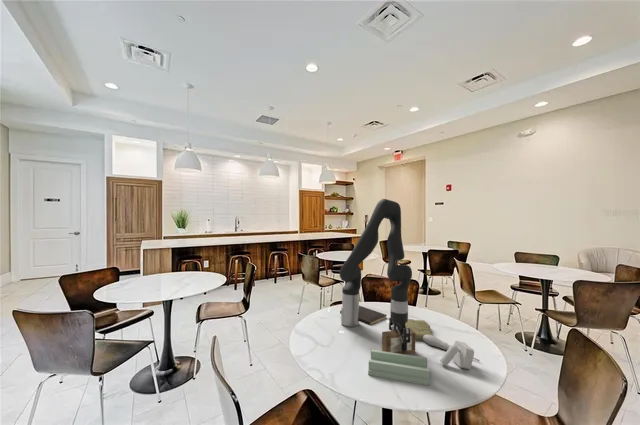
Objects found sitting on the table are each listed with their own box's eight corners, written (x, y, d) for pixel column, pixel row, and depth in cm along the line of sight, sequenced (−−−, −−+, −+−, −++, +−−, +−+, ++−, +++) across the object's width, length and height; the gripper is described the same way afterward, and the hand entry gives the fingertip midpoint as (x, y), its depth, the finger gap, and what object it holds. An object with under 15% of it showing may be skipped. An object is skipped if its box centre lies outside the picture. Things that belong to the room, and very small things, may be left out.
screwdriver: (478, 368, 113) (478, 359, 112) (421, 343, 132) (420, 335, 131) (482, 362, 116) (482, 353, 116) (426, 338, 135) (425, 330, 134)
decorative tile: (398, 340, 135) (398, 333, 135) (391, 323, 155) (391, 317, 154) (437, 343, 133) (437, 335, 133) (426, 325, 153) (426, 319, 153)
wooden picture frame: (386, 357, 119) (386, 336, 119) (381, 351, 123) (382, 331, 123) (415, 353, 122) (415, 333, 122) (410, 348, 126) (410, 328, 126)
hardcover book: (357, 308, 179) (357, 304, 179) (387, 318, 162) (387, 314, 162) (339, 314, 168) (339, 310, 168) (369, 326, 151) (369, 322, 151)
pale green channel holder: (368, 374, 106) (368, 363, 106) (371, 358, 117) (371, 348, 117) (429, 385, 99) (429, 373, 99) (426, 367, 111) (426, 356, 111)
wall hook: (434, 359, 116) (440, 336, 116) (457, 363, 117) (462, 341, 117) (444, 370, 108) (450, 345, 108) (468, 375, 109) (475, 350, 109)
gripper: (415, 314, 116) (415, 353, 117) (398, 303, 130) (398, 337, 130) (399, 316, 115) (399, 355, 115) (384, 305, 129) (383, 339, 129)
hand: (399, 345), depth 123 cm, fingers open, 8 cm apart
